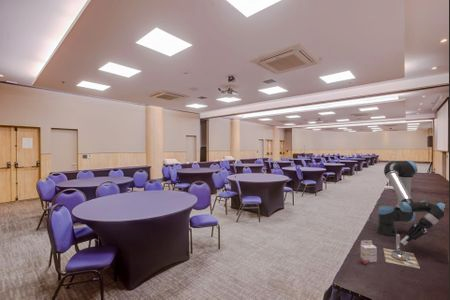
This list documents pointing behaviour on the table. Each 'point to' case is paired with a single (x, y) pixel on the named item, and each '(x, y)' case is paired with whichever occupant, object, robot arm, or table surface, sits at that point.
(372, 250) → the ink cartridge box
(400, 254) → the cam capstan
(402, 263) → the level stand
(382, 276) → the table surface
